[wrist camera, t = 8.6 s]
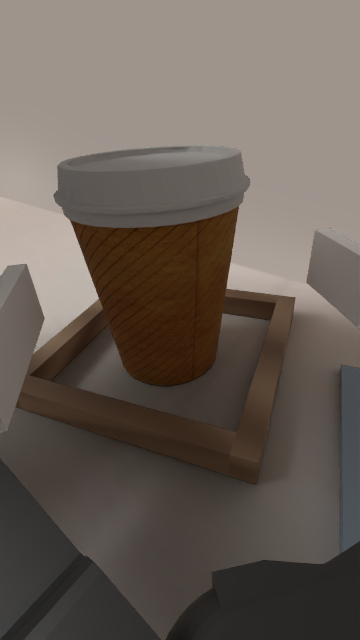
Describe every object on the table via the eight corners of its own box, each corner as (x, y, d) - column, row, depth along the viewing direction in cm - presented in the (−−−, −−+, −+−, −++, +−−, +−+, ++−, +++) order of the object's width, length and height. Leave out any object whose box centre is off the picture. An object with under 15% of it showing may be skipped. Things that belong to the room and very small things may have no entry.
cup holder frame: (256, 484, 14) (258, 463, 13) (6, 403, 19) (-3, 384, 18) (292, 314, 25) (295, 297, 25) (128, 291, 30) (125, 276, 29)
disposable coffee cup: (108, 320, 26) (72, 152, 20) (227, 311, 26) (231, 140, 20) (84, 413, 18) (11, 181, 12) (256, 400, 18) (278, 162, 12)
